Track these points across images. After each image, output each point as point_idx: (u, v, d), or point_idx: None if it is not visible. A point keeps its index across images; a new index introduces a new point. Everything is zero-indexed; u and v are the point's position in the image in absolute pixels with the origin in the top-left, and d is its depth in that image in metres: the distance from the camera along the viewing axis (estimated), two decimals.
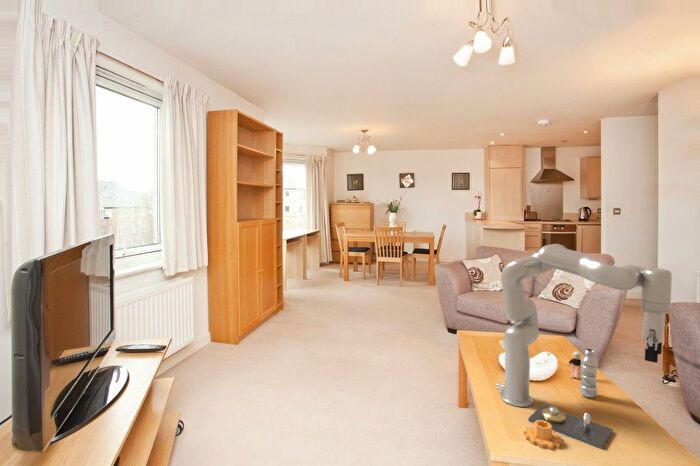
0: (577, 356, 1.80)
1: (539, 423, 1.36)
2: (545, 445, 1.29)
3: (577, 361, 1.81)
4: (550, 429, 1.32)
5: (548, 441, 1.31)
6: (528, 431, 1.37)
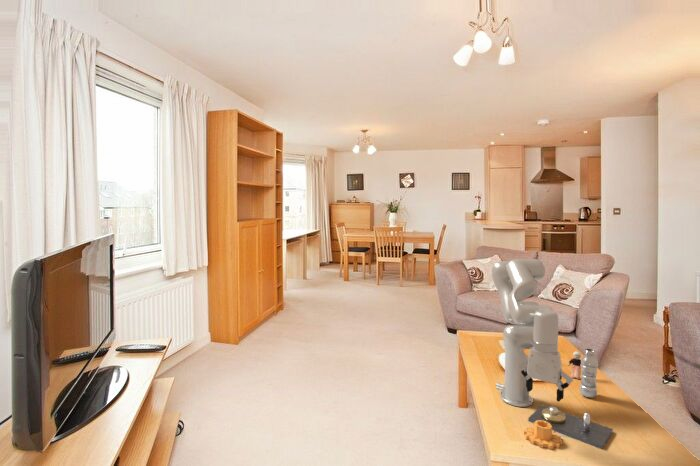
0: (577, 356, 1.80)
1: (539, 423, 1.36)
2: (545, 445, 1.29)
3: (577, 361, 1.81)
4: (550, 429, 1.32)
5: (548, 441, 1.31)
6: (528, 431, 1.37)
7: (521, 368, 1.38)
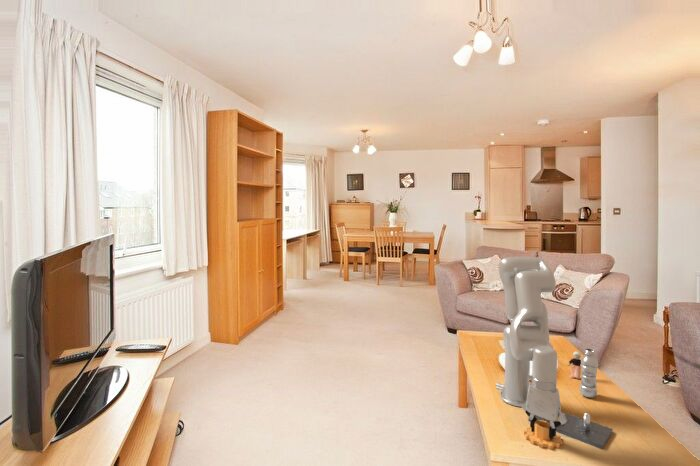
0: (577, 356, 1.80)
1: (539, 423, 1.36)
2: (545, 445, 1.29)
3: (577, 361, 1.81)
4: None
5: (548, 441, 1.31)
6: (528, 431, 1.37)
7: (524, 408, 1.38)
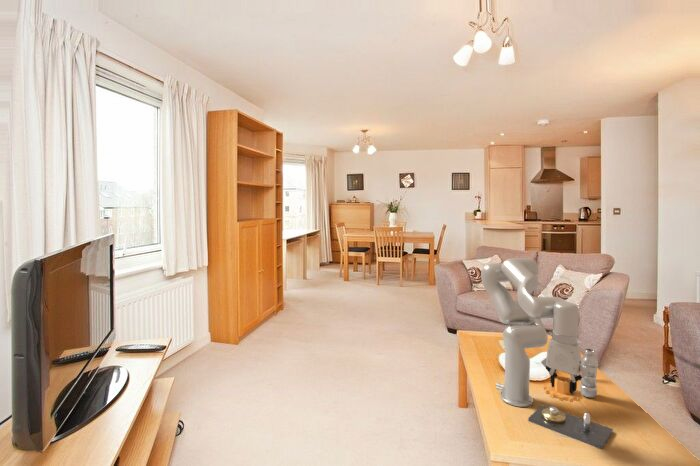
0: None
1: (559, 379, 1.36)
2: (565, 398, 1.30)
3: None
4: None
5: (568, 395, 1.31)
6: (548, 387, 1.37)
7: (544, 364, 1.39)
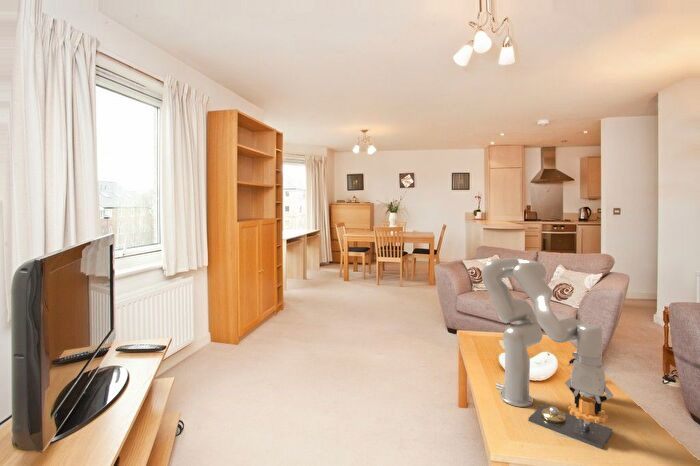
0: None
1: (583, 399, 1.39)
2: (591, 420, 1.32)
3: None
4: None
5: (594, 416, 1.34)
6: (572, 407, 1.40)
7: (568, 385, 1.41)
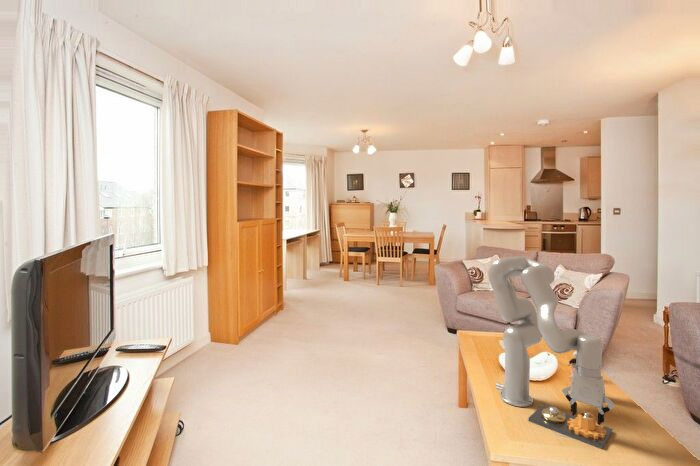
0: None
1: (582, 414, 1.39)
2: (590, 435, 1.33)
3: None
4: (594, 420, 1.35)
5: (593, 431, 1.34)
6: (571, 422, 1.40)
7: (565, 392, 1.42)
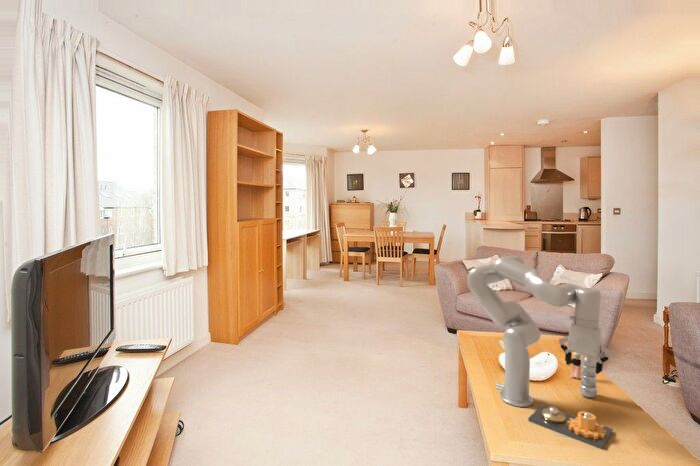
0: (577, 356, 1.80)
1: (582, 414, 1.39)
2: (590, 435, 1.33)
3: (577, 361, 1.81)
4: (594, 420, 1.35)
5: (593, 431, 1.34)
6: (571, 422, 1.40)
7: (561, 342, 1.45)
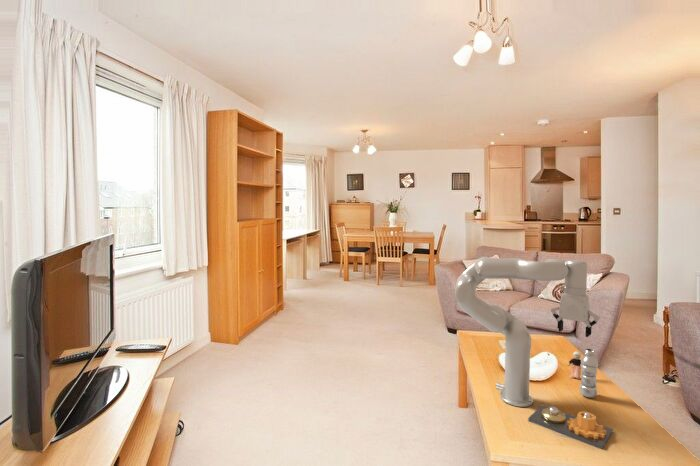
0: (577, 356, 1.80)
1: (582, 414, 1.39)
2: (590, 435, 1.33)
3: (577, 361, 1.81)
4: (594, 420, 1.35)
5: (593, 431, 1.34)
6: (571, 422, 1.40)
7: (553, 311, 1.58)
